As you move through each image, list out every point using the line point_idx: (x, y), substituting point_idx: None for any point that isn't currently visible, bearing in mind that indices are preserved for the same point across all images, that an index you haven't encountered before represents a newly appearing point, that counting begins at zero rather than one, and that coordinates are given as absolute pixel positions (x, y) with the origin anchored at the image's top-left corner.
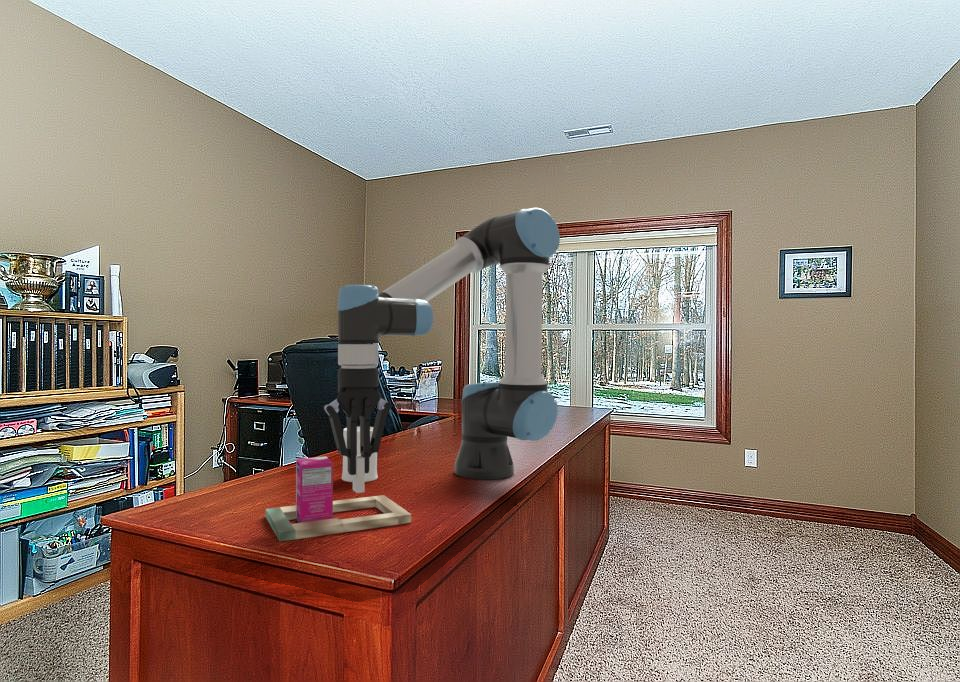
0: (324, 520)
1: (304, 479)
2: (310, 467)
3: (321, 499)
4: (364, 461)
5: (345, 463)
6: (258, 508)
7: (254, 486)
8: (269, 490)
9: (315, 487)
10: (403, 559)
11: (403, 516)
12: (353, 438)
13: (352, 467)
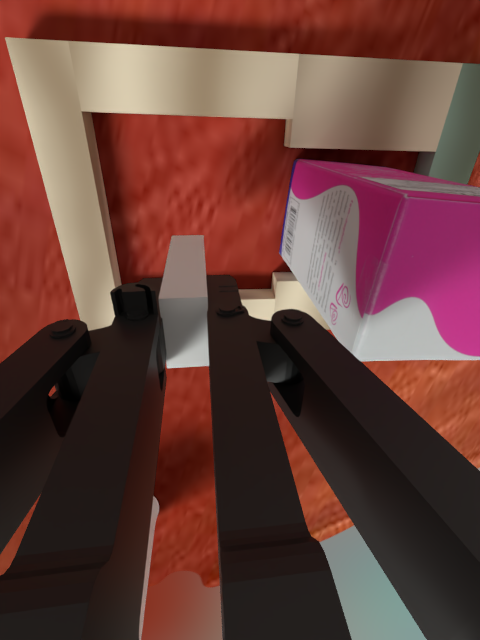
0: (338, 136)
1: None
2: None
3: (367, 170)
4: (161, 287)
5: (148, 541)
6: (385, 380)
7: (329, 501)
8: (316, 476)
9: (417, 180)
10: None
11: (45, 41)
12: (242, 382)
13: (224, 291)
